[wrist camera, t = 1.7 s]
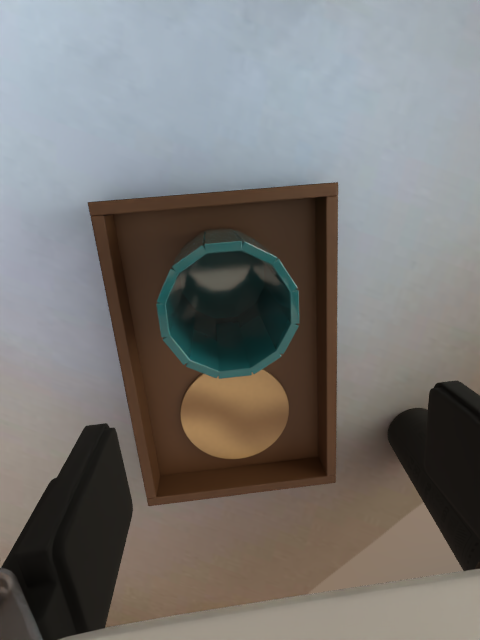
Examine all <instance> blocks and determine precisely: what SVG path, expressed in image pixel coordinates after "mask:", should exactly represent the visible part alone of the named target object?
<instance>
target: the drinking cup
mask: <svg viewBox="0 0 480 640" xmlns="http://www.w3.org/2000/svg"><path fill="white" fill-rule="evenodd" d="M427 416H428V410H427V409H422V408H415V409H410V410H407V411H405V412H403V413H401V414H400V415H398V416H397V417H396V418H395V419H394V420H393V422H392V423H391V425H390V427H389V430H388V440H389V443H390V445H391V447H392V448H393V450H394V452H395V454H396V455H397V457H398V459H399V460H400V462H401V464H402V466H403V467H404V469H405V471H406V472H407V474H408V476H409V478H410V479H411V481H412V483H413V485H414V486H415V488H416V490H417V491H418V493H419V495H420V497H421V498H422V500H423V502H424V503H425V505H426V507H427V509H428V510H429V512H430V514H431V515H432V517H433V519H434V521H435V522H436V524H437V526H438V527H439V529H440V531H441V533H442V534H443V536H444V538H445V540H446V541H447V543H448V545H449V546H450V548H451V550H452V552H453V553H454V555H455V557H456V559H457V560H458V562H459V564H460V565H461V567H462V569H463V571H468V570H475V569H480V539H479V538H478V537H477V535H476V534H475V533H474V532H473V530H472V529H471V528H470V527H469V526H468V524H467V523H466V522H465V521H464V519H463V518H462V517H461V516H460V514H459V513H458V512H457V511H456V510H455V508H454V507H453V506H452V505H451V503H450V502H449V501H448V500H447V498H446V497H445V496H444V495H443V493H442V492H441V491H440V490H439V489H438V487H437V486H436V485H435V484H434V482H433V481H432V480H431V479H430V477H429V476H428V475H427V473H426V471H425V468H424V451H425V440H426V428H427Z"/></svg>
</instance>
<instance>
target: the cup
mask: <svg viewBox="0 0 480 640" xmlns="http://www.w3.org/2000/svg"><path fill="white" fill-rule="evenodd" d="M297 288H298V287H297V285H296V284H295V282H294V281H293V279H292V278H291V276H290V275H289V273H288V272H287V270H286V268H285V267H284V265H283V264H282V262H281V261H280V259H278V258H277V257H276V256H275V255H274V254H273V253H271V252H270V251H269V250H268V249H266V248H265V247H264V246H263V245H261V244H260V243H259V242H258V241H256V240H255V239H254V238H252V237H250V236H248V235H246V234H244V233H242V232H239V231H237V230H235V229H233V228H232V229H231V228H217V229H211V230H206V231H203V232H201V233H200V234H198V235H197V236H195V237H194V238H192V239H191V240H190V241H189V242H187V243H186V244H185V245H184V246H183V247H182V249H181V251H180V252H179V254H178V256H177V258H176V259H175V261H174V263H173V265H172V266H171V268H170V270H169V272H168V275H167V277H166V280H165V282H164V284H163V287H162V289H161V291H160V294H159V296H158V298H157V304H156V307H157V313H158V320H159V326H160V333H161V337H163V341H164V342H165V344H166V345H167V346H168V347H169V348H170V350H171V351H172V352H173V353H174V354H175V356H176V357H177V358H178V359H179V360H180V362H181V363H182V364H183V365H185V364H186V367H188V368H190V369H193V370H196V371H198V372H201V373H203V374H206V375H208V376H211V377H214V378H217V377H218V378H219V379H223V378H232V377H242V376H251V375H252V373H253V374H256V373H257V372H259V371H260V370H262V369H263V368H265V367H266V366H268V365H269V364H271V363H272V362H274V361H276V360H277V359H279V358H280V357H281V354H284V352H285V351H286V349H287V347H288V345H289V343H290V341H291V340H292V338H293V336H294V334H295V332H296V330H297V328H298V327H299V325H298V324H299V323H300V321H299V291H298V289H297Z"/></svg>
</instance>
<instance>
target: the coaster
mask: <svg viewBox="0 0 480 640" xmlns="http://www.w3.org/2000/svg"><path fill="white" fill-rule="evenodd" d="M180 414H181V422H182V426H183V429H184V432H185V433H186V435H187V437H188V438H189V439H190V441H191V442H192V443H193V444H194V445H195V446H196V447H198V448H199V449H200V450H202V451H203V452H205V453H207V454H210V455H212V456H215V457H219V458H225V459H240V458H246V457H249V456H253V455H255V454H258V453H260V452H262V451H263V450H265V449H267V448H268V447H269V446H271V445H272V444H273V443H274V442H275V441H276V440H277V439H278V438H279V436H280V435H281V433H282V432H283V430H284V428H285V426H286V423H287V420H288V415H289V404H288V399H287V395H286V393H285V390H284V388H283V387H282V385H281V383H280V382H279V381H278V380H277V379H276V378H275V377H274V376H273V375H272V374H271V373H269V372H268V371H266V370H264V369H262V370H260V371H259V372H257V373H256V374H253V373H252V375H251V376H242V377H232V378H223V379H219V378H218V377H217V378H214V377H211V376H208V375H206V374H203V373H202V374H201V375H200V376H198V377H197V378H196V379H195V380H194V381H193V382H192V383H191V385H190V386H189V387H188V389H187V391H186V393H185V395H184V397H183V400H182V404H181V413H180Z"/></svg>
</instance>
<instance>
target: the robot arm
mask: <svg viewBox="0 0 480 640" xmlns="http://www.w3.org/2000/svg"><path fill="white" fill-rule="evenodd" d="M424 468H425V471H426V473H427V475H428V476H429V477H430V479H431V480H432V481H433V482H434V484H435V485H436V486H437V487H438V489H439V490H440V491H441V492H442V493H443V495H444V496H445V497H446V498H447V500H448V501H449V502H450V503H451V505H452V506H453V507H454V508H455V510H456V511H457V512H458V513H459V514H460V516H461V517H462V518H463V519H464V521H465V522H466V523H467V524H468V526H469V527H470V528H471V529H472V530H473V532H474V533H475V534H476V535H477V537H478V538H479V539H480V396H479V395H478V394H477V393H475V392H474V391H472V390H471V389H469V388H468V387H467V386H465V385H464V384H462V383H461V382H459V381H449V382H441V383H437V384H436V385H435V386H434V388H432V389H431V390H430V393H429V404H428V416H427V428H426V440H425V451H424ZM132 511H133V505H132V499H131V494H130V490H129V485H128V481H127V477H126V472H125V468H124V463H123V459H122V454H121V450H120V446H119V441H118V437H117V432H116V429H115V428H109V426H108V424H106V423H105V424H97V425H89V426H86V427H85V428H84V429H83V431H82V433H81V435H80V437H79V438H78V440H77V442H76V444H75V446H74V447H73V449H72V451H71V453H70V455H69V457H68V458H67V460H66V462H65V464H64V466H63V467H62V469H61V471H60V473H59V475H58V476H57V478H54V479H53V480H52V481H51V482H50V483H49V485H48V486H47V488H46V490H45V492H44V493H43V495H42V497H41V499H40V500H39V502H38V504H37V506H36V507H35V509H34V511H33V513H32V514H31V516H30V518H29V520H28V522H27V523H26V525H25V527H24V529H23V530H22V532H21V534H20V536H19V537H18V539H17V541H16V543H15V544H14V546H13V548H12V550H11V551H10V553H9V555H8V557H7V559H6V560H5V562H4V564H3V566H2V567H1V568H0V640H480V569H475V570H468V571H461V572H454V573H447V574H440V575H433V576H426V577H420V578H413V579H406V580H400V581H393V582H386V583H380V584H374V585H367V586H360V587H353V588H347V589H340V590H334V591H327V592H321V593H314V594H308V595H301V596H294V597H288V598H282V599H275V600H269V601H263V602H257V603H250V604H244V605H238V606H231V607H225V608H219V609H212V610H206V611H200V612H193V613H187V614H181V615H175V616H170V617H164V618H158V619H153V620H147V621H141V622H136V623H130V624H124V625H119V626H113V627H108V628H105V625H106V621H107V617H108V612H109V608H110V604H111V600H112V596H113V592H114V588H115V584H116V579H117V575H118V571H119V567H120V563H121V559H122V555H123V551H124V546H125V542H126V538H127V534H128V530H129V526H130V522H131V518H132Z"/></svg>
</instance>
